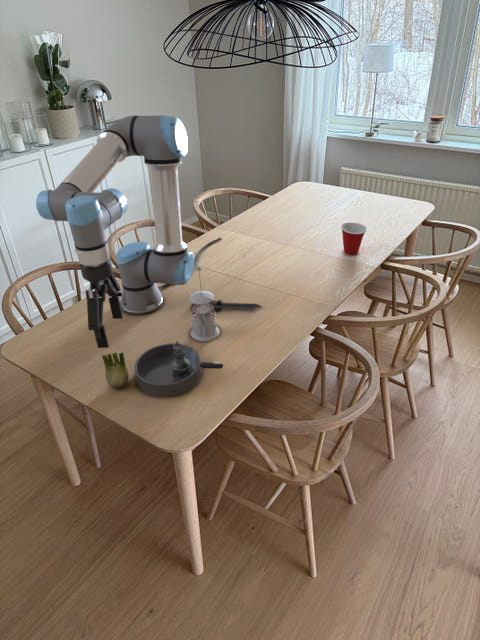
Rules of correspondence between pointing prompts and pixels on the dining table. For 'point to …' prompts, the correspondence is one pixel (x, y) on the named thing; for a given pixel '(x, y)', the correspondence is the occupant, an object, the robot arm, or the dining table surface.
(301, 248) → the dining table surface
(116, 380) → the fennel bulb
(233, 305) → the knife
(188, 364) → the salt shaker
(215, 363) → the pan handle
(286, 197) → the dining table surface
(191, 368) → the pan
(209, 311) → the french press
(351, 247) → the plastic cup
